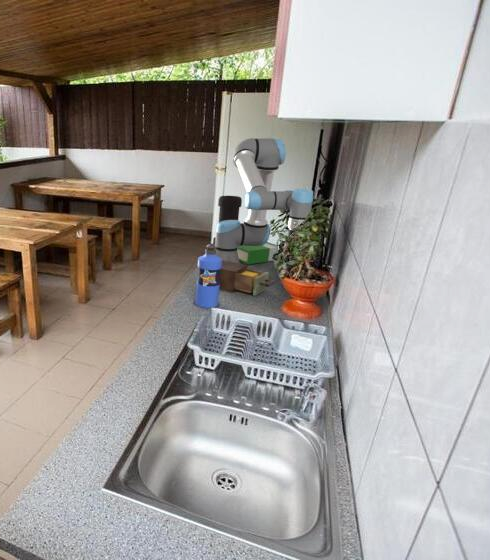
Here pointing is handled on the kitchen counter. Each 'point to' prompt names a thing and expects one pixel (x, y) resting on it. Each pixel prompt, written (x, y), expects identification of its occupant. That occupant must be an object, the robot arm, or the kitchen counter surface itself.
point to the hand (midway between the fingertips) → (289, 285)
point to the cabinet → (229, 275)
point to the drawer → (246, 281)
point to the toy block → (251, 275)
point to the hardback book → (256, 253)
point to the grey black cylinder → (228, 208)
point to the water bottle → (208, 278)
